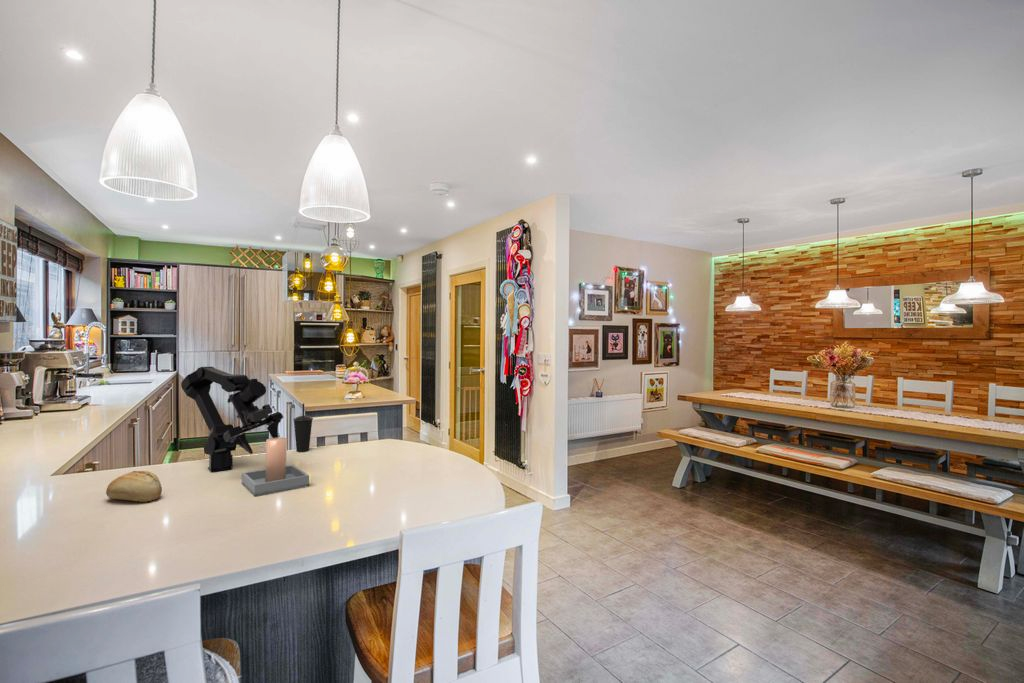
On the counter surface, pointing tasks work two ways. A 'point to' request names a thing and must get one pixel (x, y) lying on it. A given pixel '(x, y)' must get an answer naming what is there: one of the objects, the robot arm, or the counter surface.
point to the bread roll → (135, 487)
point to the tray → (259, 487)
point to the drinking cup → (302, 431)
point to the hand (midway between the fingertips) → (264, 448)
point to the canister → (275, 459)
